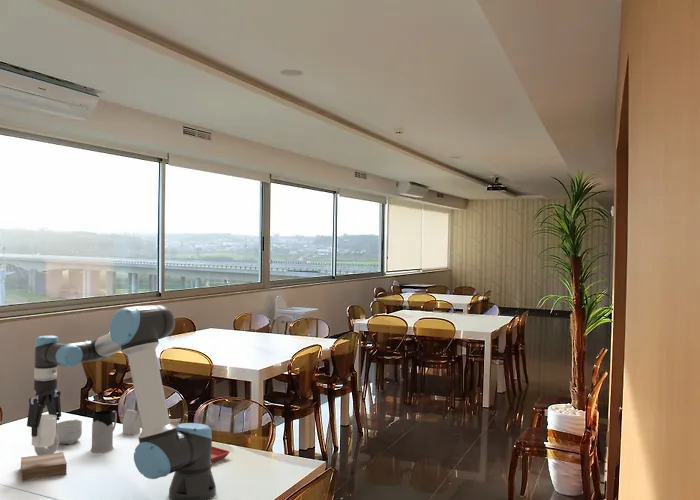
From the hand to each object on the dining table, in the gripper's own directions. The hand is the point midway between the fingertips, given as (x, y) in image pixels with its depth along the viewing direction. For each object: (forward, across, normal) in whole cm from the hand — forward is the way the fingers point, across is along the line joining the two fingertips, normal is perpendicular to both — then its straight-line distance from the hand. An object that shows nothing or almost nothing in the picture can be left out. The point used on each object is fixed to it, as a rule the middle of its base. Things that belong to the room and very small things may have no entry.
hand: (43, 441), depth 221 cm
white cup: (+1, 0, 0) cm, 1 cm away
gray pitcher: (+11, +30, -5) cm, 33 cm away
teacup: (+11, +34, +14) cm, 39 cm away
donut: (+11, +14, +10) cm, 20 cm away
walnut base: (+11, 0, 0) cm, 11 cm away
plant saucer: (+11, +26, -48) cm, 56 cm away
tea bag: (+11, +52, -4) cm, 53 cm away
